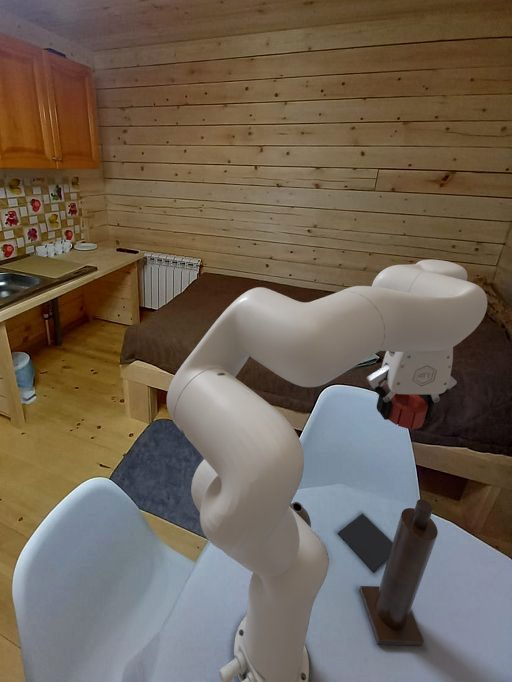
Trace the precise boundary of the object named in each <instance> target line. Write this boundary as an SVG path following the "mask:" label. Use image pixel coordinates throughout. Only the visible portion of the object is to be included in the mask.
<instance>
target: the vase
mask: <svg viewBox="0 0 512 682" xmlns="http://www.w3.org/2000/svg"><path fill="white" fill-rule="evenodd" d="M289 506H290V507H291V508H292V509H293V510H294V511H295V512H296V513H297V514H298V515H299V516H300V517H301V518H302V519H303V520H304V521H305V522H306V523H307V524H308V525H309V526H310V528H311V529H312V521H311V517H310V515H309V512H308V511H307V509H306V508H304V506H303V505H302V503H300V502H299V501H293V502H291V504H290V505H289Z"/></svg>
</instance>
